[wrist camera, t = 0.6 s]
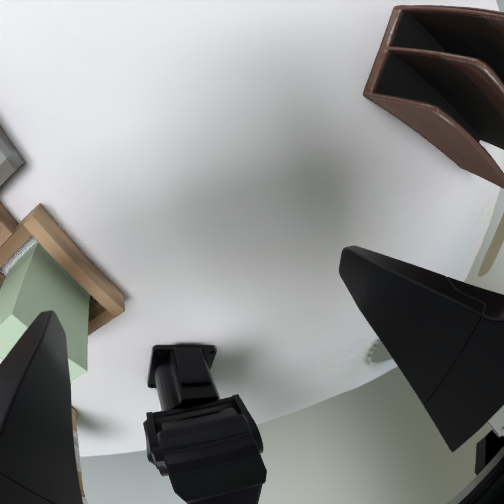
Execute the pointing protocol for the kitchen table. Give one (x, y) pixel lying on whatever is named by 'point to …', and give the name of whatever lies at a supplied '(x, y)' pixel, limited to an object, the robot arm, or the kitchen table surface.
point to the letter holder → (445, 80)
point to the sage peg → (44, 304)
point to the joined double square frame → (55, 247)
